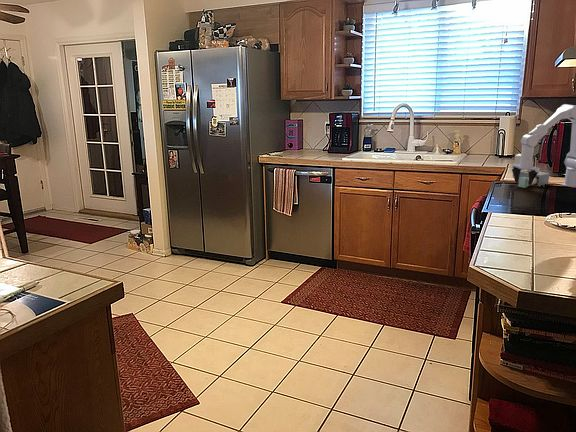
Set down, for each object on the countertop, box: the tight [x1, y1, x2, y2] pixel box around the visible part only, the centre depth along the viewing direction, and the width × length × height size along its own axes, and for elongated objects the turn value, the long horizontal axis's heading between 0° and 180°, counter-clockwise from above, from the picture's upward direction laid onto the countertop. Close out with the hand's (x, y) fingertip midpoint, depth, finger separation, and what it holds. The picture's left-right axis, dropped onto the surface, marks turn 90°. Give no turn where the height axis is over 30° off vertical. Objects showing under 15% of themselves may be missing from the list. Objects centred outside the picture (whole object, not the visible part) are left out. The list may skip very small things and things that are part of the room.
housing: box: [517, 170, 550, 187], centre depth 264 cm, size 9×14×6 cm, turn 32°
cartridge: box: [517, 177, 538, 189], centre depth 256 cm, size 12×4×5 cm, turn 122°
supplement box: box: [512, 153, 523, 177], centre depth 279 cm, size 7×7×13 cm
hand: (523, 183), depth 253 cm, fingers open, 7 cm apart
